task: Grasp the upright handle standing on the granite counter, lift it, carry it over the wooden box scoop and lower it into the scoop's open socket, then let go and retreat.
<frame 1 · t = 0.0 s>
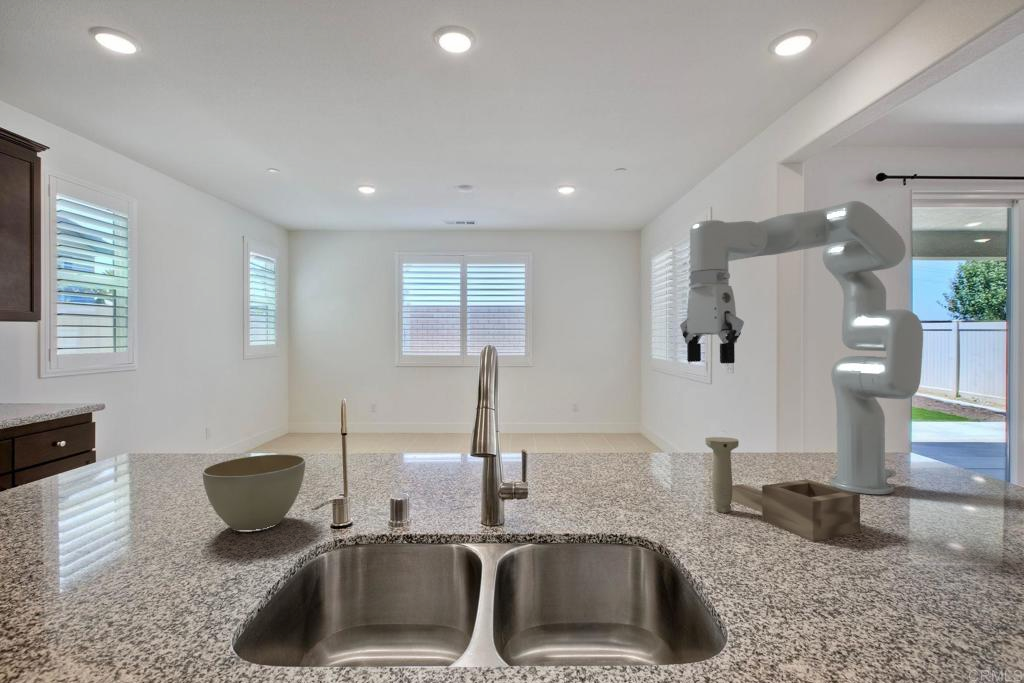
hand: (710, 362, 105), 31 cm above the worktop, tool pointing down, fingers open, 9 cm apart
olive grey bowl: (256, 526, 99), on the worktop
wooden box scoop: (809, 526, 96), on the worktop
handle: (722, 511, 105), on the worktop
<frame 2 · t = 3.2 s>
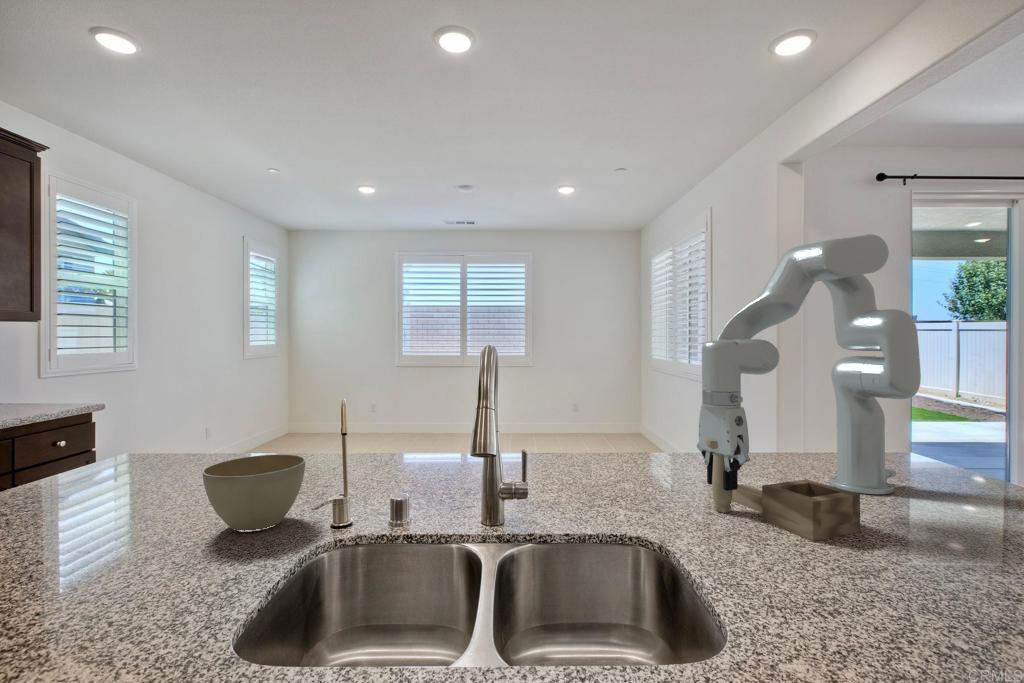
hand: (722, 485, 105), 5 cm above the worktop, tool pointing down, fingers closed on handle, 3 cm apart
handle: (722, 511, 105), on the worktop, touching gripper
everything else where it was.
when the fingers open (9 cm above the worktop, at t = 8.9 s): handle drops 2 cm, resting on wooden box scoop.
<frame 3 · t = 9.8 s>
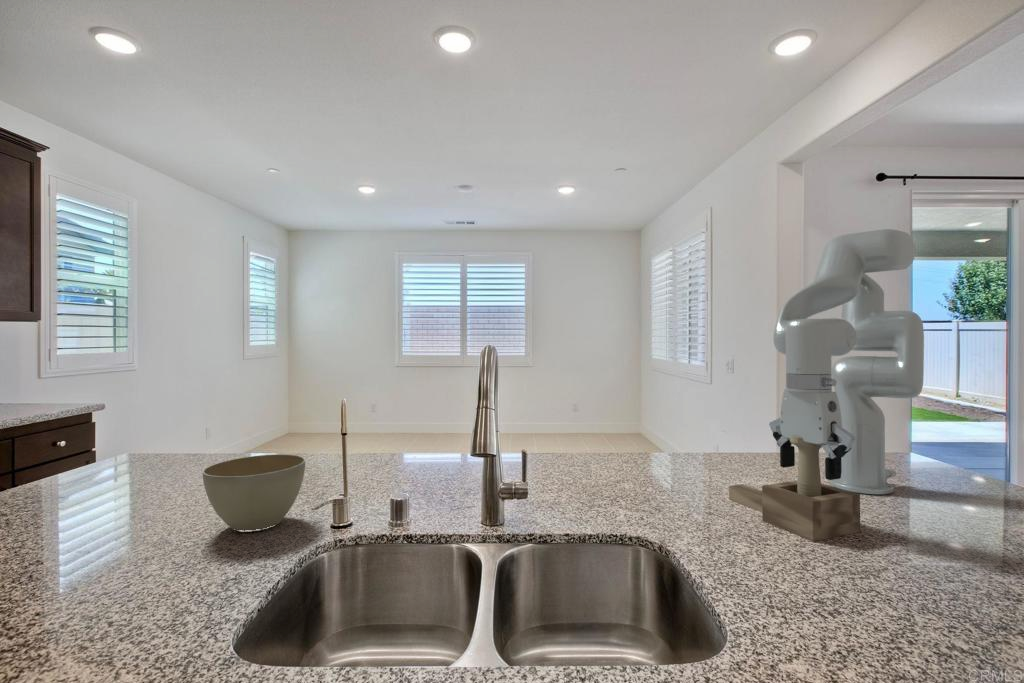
hand: (809, 472, 96), 10 cm above the worktop, tool pointing down, fingers open, 9 cm apart
handle: (809, 516, 96), point 2 cm above the worktop, touching wooden box scoop
everything else where it was.
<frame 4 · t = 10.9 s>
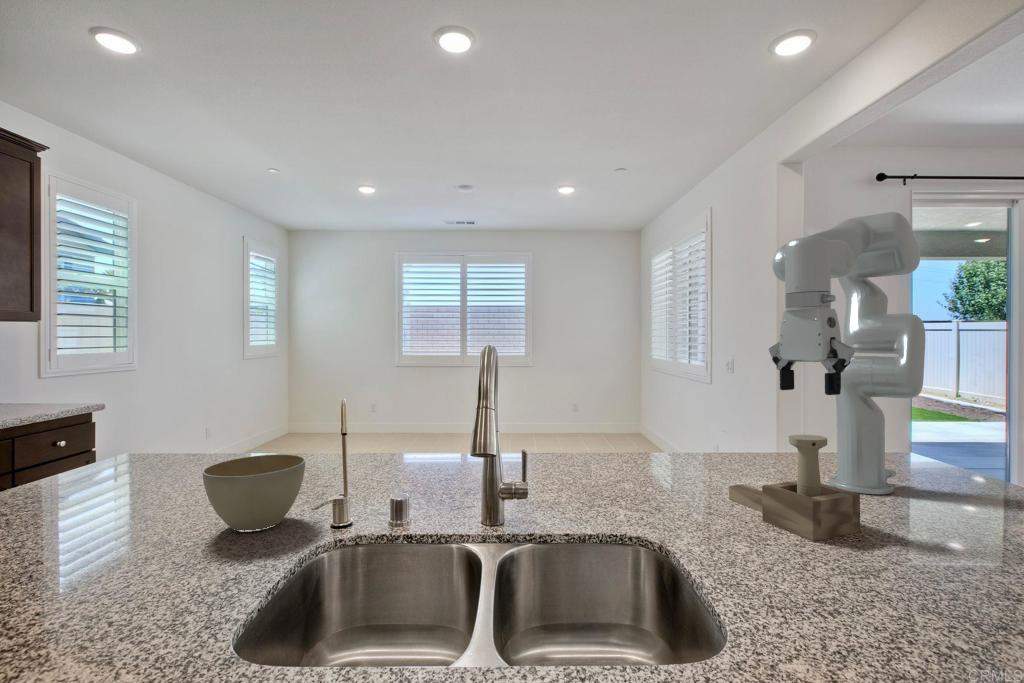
hand: (808, 392, 96), 26 cm above the worktop, tool pointing down, fingers open, 9 cm apart
nothing on the worktop moved.
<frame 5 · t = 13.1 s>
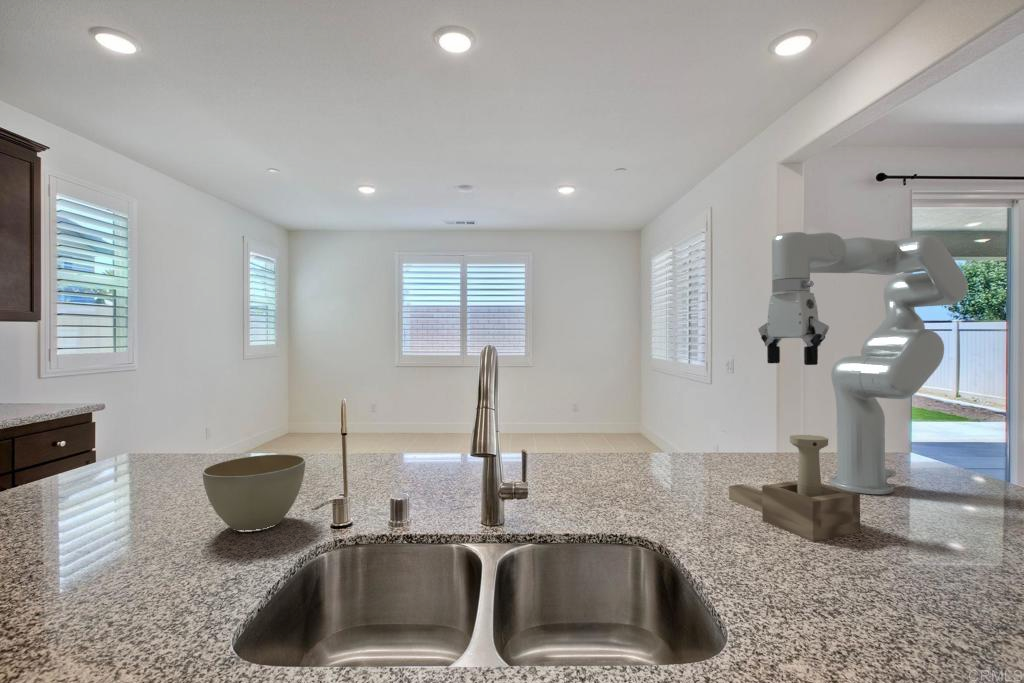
hand: (791, 364, 113), 30 cm above the worktop, tool pointing down, fingers open, 9 cm apart
nothing on the worktop moved.
at the end: handle 0.2 cm off-centre on the wooden box scoop, point 1.8 cm above the wooden box scoop's base; handle tilted 0°; the gripper is holding nothing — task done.
